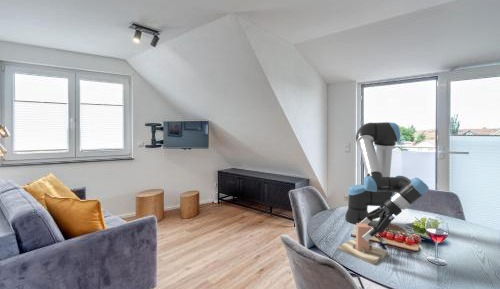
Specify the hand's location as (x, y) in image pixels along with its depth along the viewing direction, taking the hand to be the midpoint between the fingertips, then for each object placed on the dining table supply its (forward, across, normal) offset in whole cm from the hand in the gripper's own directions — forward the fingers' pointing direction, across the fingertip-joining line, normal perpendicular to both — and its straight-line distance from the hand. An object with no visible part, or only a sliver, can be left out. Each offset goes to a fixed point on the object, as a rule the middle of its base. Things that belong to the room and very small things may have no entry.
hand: (361, 232), depth 122 cm
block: (+5, 0, -6) cm, 8 cm away
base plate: (+7, 0, -7) cm, 10 cm away
